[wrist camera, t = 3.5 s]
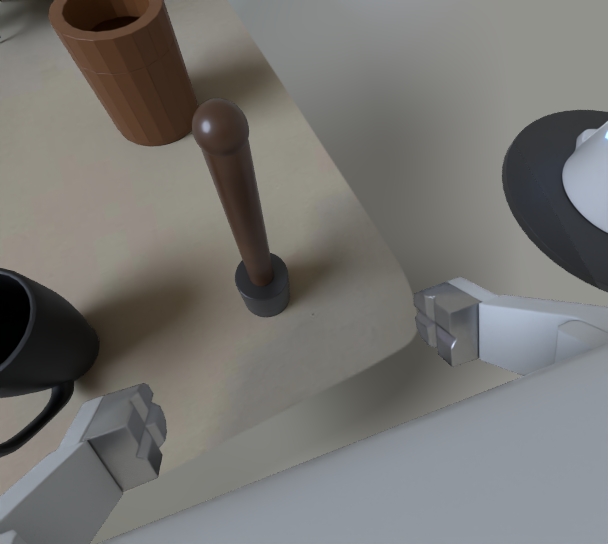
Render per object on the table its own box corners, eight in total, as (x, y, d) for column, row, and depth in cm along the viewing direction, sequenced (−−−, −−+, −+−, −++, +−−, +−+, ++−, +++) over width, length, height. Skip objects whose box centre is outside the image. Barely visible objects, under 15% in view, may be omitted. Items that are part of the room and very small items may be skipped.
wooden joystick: (285, 270, 32) (265, 60, 13) (293, 312, 31) (282, 142, 11) (241, 278, 32) (153, 72, 13) (247, 321, 30) (153, 159, 11)
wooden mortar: (196, 84, 43) (161, -30, 32) (201, 140, 39) (163, 33, 28) (119, 93, 42) (55, -21, 31) (116, 151, 38) (41, 45, 27)
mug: (17, 466, 25) (-131, 494, 17) (18, 323, 30) (-98, 287, 21) (124, 428, 26) (38, 437, 18) (110, 297, 31) (35, 252, 22)
